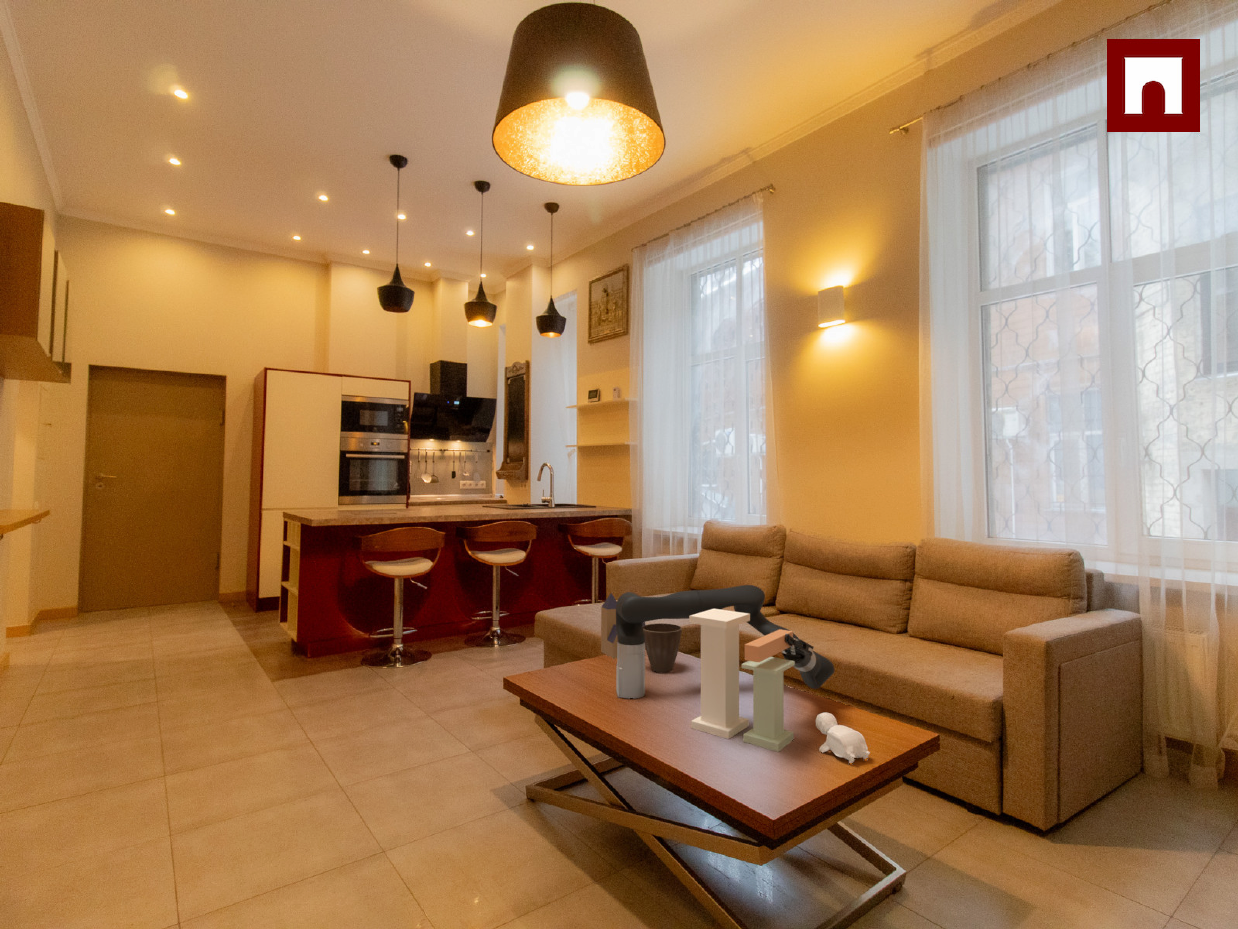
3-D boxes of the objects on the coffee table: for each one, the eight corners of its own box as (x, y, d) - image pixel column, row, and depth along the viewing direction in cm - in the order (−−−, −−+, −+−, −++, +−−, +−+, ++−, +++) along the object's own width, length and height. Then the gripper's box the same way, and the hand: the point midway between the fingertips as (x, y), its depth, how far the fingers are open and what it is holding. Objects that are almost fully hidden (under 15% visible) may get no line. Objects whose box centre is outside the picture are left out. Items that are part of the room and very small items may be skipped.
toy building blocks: (601, 651, 256) (601, 591, 257) (641, 647, 264) (641, 589, 265) (612, 659, 244) (613, 596, 246) (654, 654, 252) (654, 593, 253)
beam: (779, 643, 177) (779, 629, 177) (793, 645, 175) (792, 631, 175) (744, 659, 160) (744, 644, 160) (758, 662, 158) (758, 647, 158)
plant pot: (641, 675, 223) (642, 631, 223) (641, 664, 238) (642, 622, 238) (682, 676, 222) (682, 632, 223) (680, 665, 237) (680, 623, 238)
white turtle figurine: (867, 770, 155) (827, 728, 168) (876, 743, 153) (835, 703, 165) (842, 777, 151) (803, 733, 164) (851, 749, 149) (811, 708, 162)
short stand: (761, 729, 173) (761, 655, 174) (795, 738, 167) (794, 661, 168) (741, 743, 164) (741, 664, 165) (776, 753, 158) (776, 671, 159)
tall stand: (714, 715, 184) (713, 608, 185) (750, 725, 177) (749, 613, 178) (689, 729, 173) (689, 615, 175) (726, 740, 166) (726, 621, 167)
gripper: (779, 639, 189) (758, 619, 178) (825, 647, 180) (805, 626, 169) (774, 663, 186) (752, 644, 175) (820, 672, 177) (800, 653, 166)
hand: (778, 636), depth 172 cm, fingers closed on beam, 4 cm apart
